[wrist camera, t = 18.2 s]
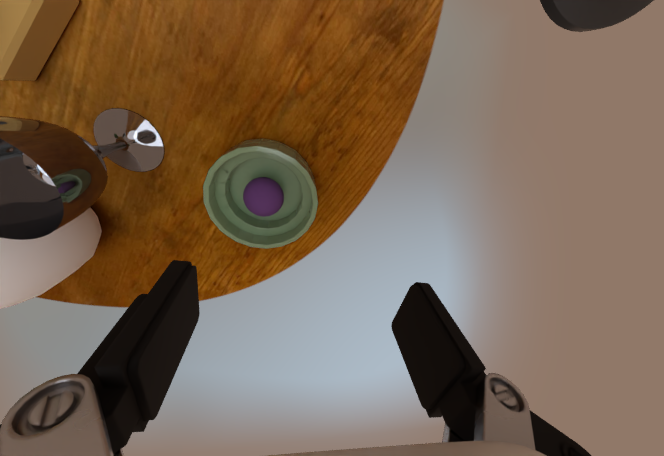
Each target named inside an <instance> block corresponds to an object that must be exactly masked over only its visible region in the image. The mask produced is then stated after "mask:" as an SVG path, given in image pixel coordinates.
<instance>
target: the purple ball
mask: <svg viewBox="0 0 664 456" xmlns="http://www.w3.org/2000/svg"><path fill="white" fill-rule="evenodd" d="M243 200H244V203H245V205H246V207H247V208H248V210H249V211H250V212H252V213H253V214H255V215H258V216H262V217H266V216H271V215H273V214H275V213H277V212H278V211H279V210H280V208H281V207H282V205H283V202H284V193H283V190H282V188H281V186H280V185H279V184H278V183H277V182H276V181H274V180H273V179H271V178H267V177H258V178H255V179H253V180H251V181H250V182H249V183H248V184H247V185H246V187H245V189H244V192H243Z"/></svg>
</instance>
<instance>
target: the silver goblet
mask: <svg viewBox="0 0 664 456" xmlns="http://www.w3.org/2000/svg"><path fill="white" fill-rule="evenodd" d="M94 136H95V139H96V142H97V143H98V145H99V146H92V145H91V144H90V143H89V142H87V141H86V140H85V139H83V138H82V137H80V136H79V135H77V134H75V133H74V132H72V131H70V130H68V129H66V128H64V127H61V126H58V125H55V124H51V123H48V122H44V121H40V120H33V119H25V118H17V117H3V116H0V238H6V239H16V240H28V239H36V238H40V237H44V236H46V235H48V234H50V233H52V232H54V231H56V230H58V229H60V228H62V227H63V226H65V225H67V224H68V223H70V222H71V221H73V220H74V219H76V218H77V217H79V216H80V215H81V214H83V213H84V212H85V211H86V210H87V209H89V208H90V207H91V206H92V205H93V204H94V203H95V202H96V201H97V199H98V198H99V197H100V196H101V194H102V193H103V191H104V190H105V187H106V185H107V180H108V176H107V168H106V165H105V163H104V161H103V158H104V157H106V156H107V157H108V158H109V159H111V160H112V161H113V162H115V163H116V164H118V165H119V166H121V167H123V168H126V169H129V170H132V171H139V172H144V171H150V170H153V169H155V168H156V167H157V166H159V165H160V163H161V162H162V160H163V157H164V145H163V141H162V139H161V137H160V135H159V133H158V131H157V130H156V129H155V127H154V126H153V125H152V124H151V123H150V122H149V121H147V120H146V119H145V118H144V117H142V116H140V115H139V114H137V113H135V112H132V111H130V110H126V109H121V108H112V109H108V110H105V111H103V112H102V113H100V114H99V115H98V117H97V118H96V120H95V123H94Z"/></svg>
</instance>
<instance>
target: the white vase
mask: <svg viewBox="0 0 664 456" xmlns="http://www.w3.org/2000/svg"><path fill="white" fill-rule="evenodd" d="M101 233H102V230H101V226H100V223H99V219H98V216H97V215H96V214H95V213H94V211H93V210H92V209H91V207H90V208H89V209H87V210H86V211H85V212H84V213H83V214H81V215H80V216H79V217H77V218H76V219H74V220H73V221H71V222H70V223H68V224H67V225H65V226H63V227H62V228H60V229H58V230H56V231H54V232H52V233H50V234H48V235H46V236H44V237H40V238H36V239H28V240H16V239H6V238H0V309H2V308H6V307H10V306H13V305H16V304H19V303H21V302H24V301H26V300H29V299H31V298H34V297H36V296H39V295H41V294H43V293H44V292H46V291H47V290H49V289H50V288H52V287H53V286H55V285H56V284H58V283H59V282H61V281H62V280H64V279H65V278H67V277H68V276H69V275H71V274H72V273H73V272H75V271H76V270H77V269H79V268H80V267H81V266H82V265H83V264H84V263H85V262H87V261H88V260H89V259H90V258H91V257H92V256H93V255H94V253H95V250H96V248H97V245H98V243H99V239H100V236H101Z"/></svg>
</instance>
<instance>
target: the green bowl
mask: <svg viewBox="0 0 664 456" xmlns="http://www.w3.org/2000/svg"><path fill="white" fill-rule="evenodd" d="M258 177H267V178H271V179H273V180H274V181H276V182H277V183H278V184H279V185H280V186H281V188H282V190H283V193H284V202H283V205H282V207H281V208H280V210H279V211H278V212H277V213H275V214H273V215H271V216H266V217H262V216H258V215H255V214H253V213H252V212H250V211H249V210H248V208H247V207H246V205H245V203H244V200H243V192H244V189H245V187H246V185H247V184H248V183H249V182H250V181H251V180H253V179H255V178H258ZM203 195H204V204H205V207H206V209H207V212H208V214H209V217H210V218H211V220H212V221H213V222H214V223H215V225H216V226H217V227H218V228H219V229H220V231H221V232H223V233H224V234H226V235H227V236H228V237H230V238H231V239H233V240H234V241H236V242H239V243H242V244H244V245H247V246H250V247H257V248H274V247H281V246H284V245H286V244H289V243H291V242H293V241H296V240H297V239H298V238H299V237H301V236H302V235H303V234H304V233H305V232H306V231H307V230H308V229H309V227H310V226H311V224H312V222H313V221H314V219H315V216H316V211H317V206H318V200H317V192H316V186H315V180H314V176H313V174H312V172H311V169H310V167H309V165H308V163H307V162H306V161H305V160H304V159H303V158H302V157H301V156H300V155H299V153H298V152H297V151H295V150H294V149H292V148H290V147H289V146H287V145H285V144H283V143H281V142H278V141H273V140H269V139H263V138H262V139H253V140H246V141H243V142H241V143H239V144H237V145H235V146H233V147H231V148H230V149H229V150H228V151H227V152H225V153H224V154H223V155H222V156H221V157H220V158H219V159H218V160H217V161H216V162H215V163H214V165H213V166H212V167H211V168H210V169H209V171H208V173H207V176H206V179H205V182H204V185H203Z"/></svg>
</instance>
